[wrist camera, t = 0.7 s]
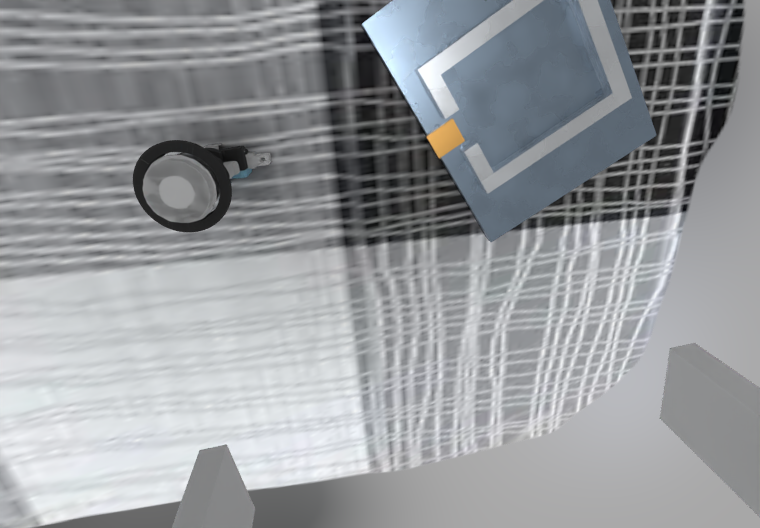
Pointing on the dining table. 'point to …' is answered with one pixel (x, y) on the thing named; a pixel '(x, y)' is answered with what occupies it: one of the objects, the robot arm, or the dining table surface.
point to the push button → (190, 182)
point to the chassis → (514, 95)
